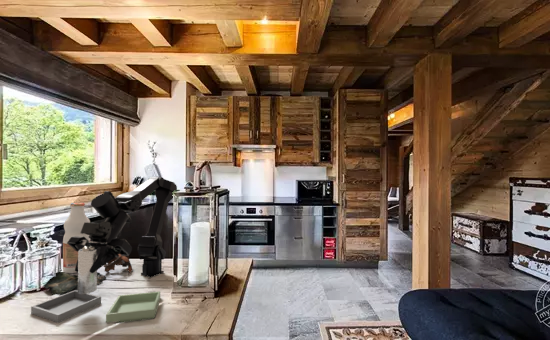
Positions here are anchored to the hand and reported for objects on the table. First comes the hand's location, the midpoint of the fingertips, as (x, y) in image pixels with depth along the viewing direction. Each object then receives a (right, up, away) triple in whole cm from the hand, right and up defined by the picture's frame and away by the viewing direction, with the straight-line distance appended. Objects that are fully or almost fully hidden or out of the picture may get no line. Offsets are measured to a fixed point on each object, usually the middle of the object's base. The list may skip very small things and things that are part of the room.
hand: (83, 272), depth 80 cm
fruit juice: (-28, -13, +37) cm, 48 cm away
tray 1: (-7, -12, +3) cm, 14 cm away
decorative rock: (-16, -13, +21) cm, 29 cm away
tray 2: (+14, -13, +3) cm, 19 cm away
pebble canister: (0, -6, +1) cm, 6 cm away
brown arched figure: (-9, -13, +35) cm, 39 cm away
